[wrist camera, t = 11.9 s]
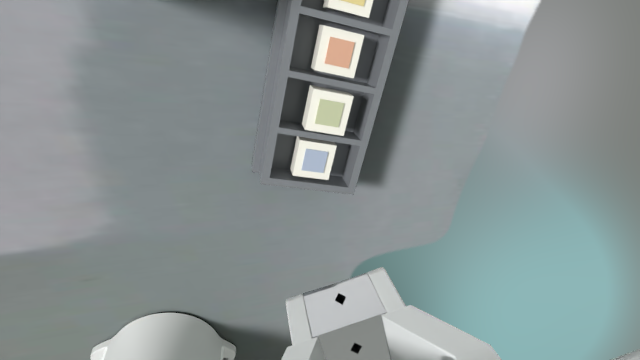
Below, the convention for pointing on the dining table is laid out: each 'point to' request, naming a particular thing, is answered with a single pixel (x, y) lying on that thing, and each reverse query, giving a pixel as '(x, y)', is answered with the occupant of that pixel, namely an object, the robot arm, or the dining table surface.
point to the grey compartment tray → (297, 75)
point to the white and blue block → (312, 158)
